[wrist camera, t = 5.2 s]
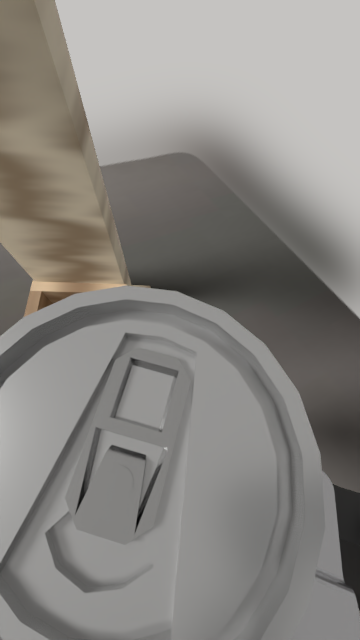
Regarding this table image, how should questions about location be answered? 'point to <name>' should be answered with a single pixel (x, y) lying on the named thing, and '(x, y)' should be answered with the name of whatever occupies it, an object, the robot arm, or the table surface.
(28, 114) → the wooden dispenser stand
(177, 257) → the table surface
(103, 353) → the green metal cylinder
